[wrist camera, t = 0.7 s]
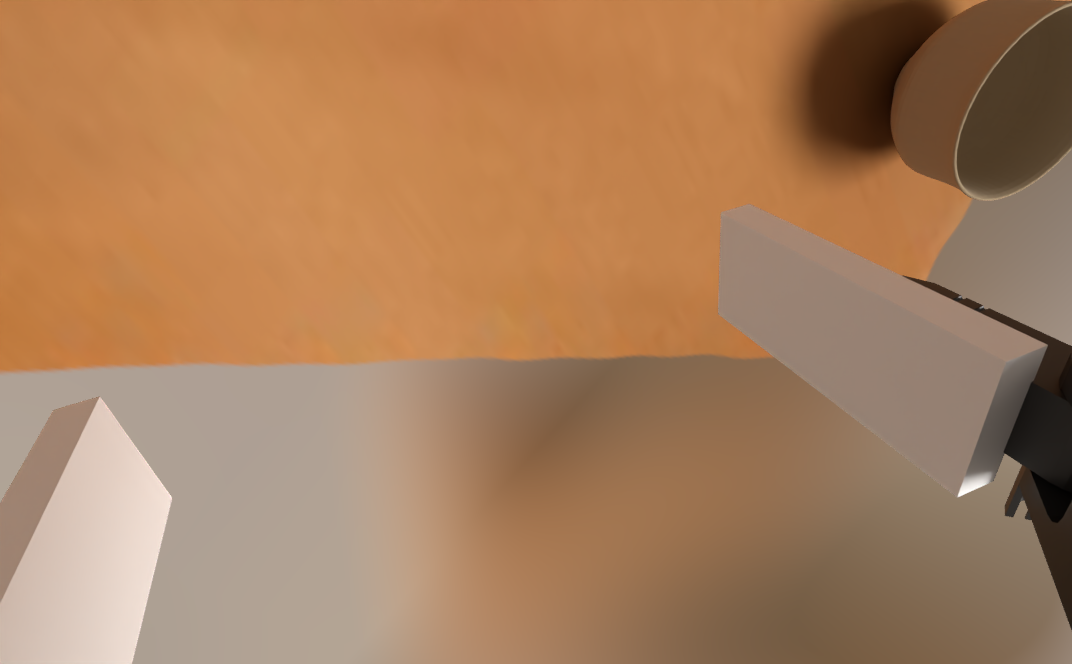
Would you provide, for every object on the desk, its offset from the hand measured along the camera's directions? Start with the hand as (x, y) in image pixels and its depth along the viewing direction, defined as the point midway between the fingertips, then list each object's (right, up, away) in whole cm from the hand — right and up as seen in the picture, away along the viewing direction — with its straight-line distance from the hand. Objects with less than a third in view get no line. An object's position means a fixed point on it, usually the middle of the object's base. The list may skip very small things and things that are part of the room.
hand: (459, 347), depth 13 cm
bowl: (+31, +20, +34) cm, 50 cm away
